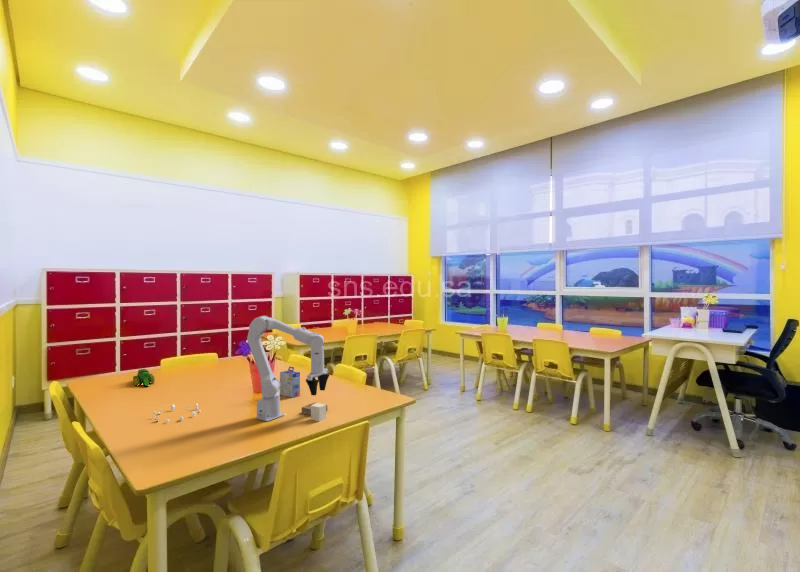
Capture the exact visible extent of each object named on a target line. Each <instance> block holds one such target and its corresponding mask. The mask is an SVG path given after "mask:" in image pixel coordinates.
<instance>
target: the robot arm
mask: <svg viewBox="0 0 800 572" xmlns="http://www.w3.org/2000/svg"><path fill="white" fill-rule="evenodd" d="M248 328H249V329H248V334H247V337H246V340H247V343H248V346H249V347H250V351H251V354H252V357H253V359H254V362H255V365H256V368H257V370H258V374H259V376H260V386H261V390H260V392H261V395H262V397H261V398H260V399H259V400H257V402H256V416H255V419H257V420H261V421H265V422H270V421H273V420H275V419H277V418H281V417H284V416H285V415H286V414H285V413H282V412H281V395H280V380H278V379H277V377H276V374H275V373H274V372H273V370H272V367H271V365H270V361H269V360H268V357H267V353H266V351H265V348H264V345H263V343H262V337H263V335H264V333H265V332H266V331H270V330H276V331H281V332H282V333H286V334H289V335H291V336H293V339H294V340H295V341H298V342H299V343H303V344H305V345H309V346H310V373H309V374H308V375H306V376H307V377H306V379H305V382H306V384H307V386H308V388H309V391H310V395H311V396H317V393H318V388H319V391H323V392H324V391H325V390H326V388H327V382H328V379H329V378H330V373H328V370H329V369H328V368H325V351H324V349H325V348H324V343H325V338H324V336H323V335H322V334H320V333H316V332H315V331H313V332H312V331H310V330H308V329H307V328H306V327H304V326H303V327H297V328H295V327H293V326H291V325H289V324H287V323H285V322H282V321H280V320H278V319H277V318H276V319H275V318H273V317H269V316H268V315H260V316H257V317H255V318H254V319H253V320H252V321H251V323H250V324H249V326H248ZM316 378H317V379H316Z"/></svg>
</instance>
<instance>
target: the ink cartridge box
mask: <svg viewBox="0 0 800 572" xmlns="http://www.w3.org/2000/svg"><path fill="white" fill-rule="evenodd" d="M279 382H280V389H279V394H280V396H283V397H288V398H295V397H300V396H301V372H300V371H295V367H294V366H288V369H287V370H283V371H280V372H279Z"/></svg>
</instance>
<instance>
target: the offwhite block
mask: <svg viewBox="0 0 800 572" xmlns="http://www.w3.org/2000/svg"><path fill="white" fill-rule="evenodd" d="M315 403H316V404H313V405H311V415H310V420H313V421H316V422H322V421H324V420H326V419H327V411H326V405H327V404H324V403H319V402H315Z"/></svg>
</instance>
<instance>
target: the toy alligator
mask: <svg viewBox="0 0 800 572" xmlns="http://www.w3.org/2000/svg"><path fill="white" fill-rule="evenodd" d="M133 382H134V383H135V384H134V386H135V385H138V384H142V383H143V384H144V385H145V386H148V385H151V384H149V383H150V382H151V383H154V382H155V375H153V373H150V371H149V370H148V369H146V368H141V369H138V372H137V374H136V375H134V376H132V383H133ZM154 384H155V383H154ZM144 385H143V386H144Z"/></svg>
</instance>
